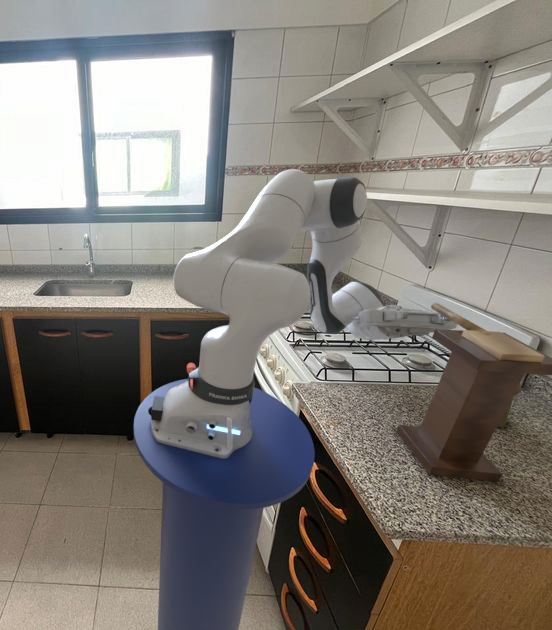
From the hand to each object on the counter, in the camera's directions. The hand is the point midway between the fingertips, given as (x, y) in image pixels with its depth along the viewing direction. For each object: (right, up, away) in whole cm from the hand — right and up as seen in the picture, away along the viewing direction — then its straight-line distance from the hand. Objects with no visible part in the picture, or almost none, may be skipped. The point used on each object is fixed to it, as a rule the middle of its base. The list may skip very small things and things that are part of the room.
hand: (426, 315), depth 79 cm
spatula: (-2, -3, -12) cm, 12 cm away
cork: (+18, -25, +3) cm, 30 cm away
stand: (-2, -29, -7) cm, 30 cm away
